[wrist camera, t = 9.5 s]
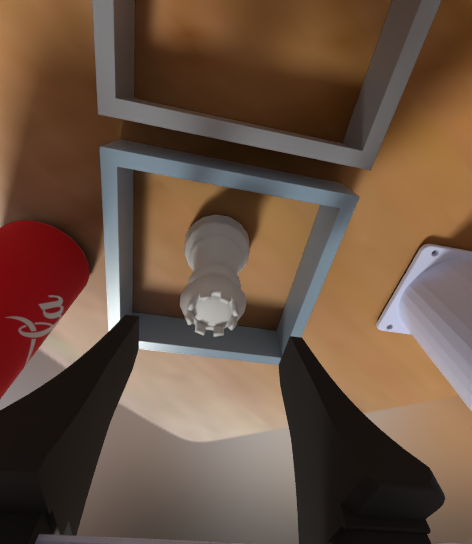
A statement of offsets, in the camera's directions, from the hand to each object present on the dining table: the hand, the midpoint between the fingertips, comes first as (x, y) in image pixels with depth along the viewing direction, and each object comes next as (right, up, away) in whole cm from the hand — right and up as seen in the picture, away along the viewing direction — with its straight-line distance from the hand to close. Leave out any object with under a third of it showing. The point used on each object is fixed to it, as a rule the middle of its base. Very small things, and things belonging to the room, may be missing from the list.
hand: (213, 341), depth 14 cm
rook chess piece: (0, +5, +7) cm, 9 cm away
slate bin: (0, +4, +7) cm, 8 cm away
